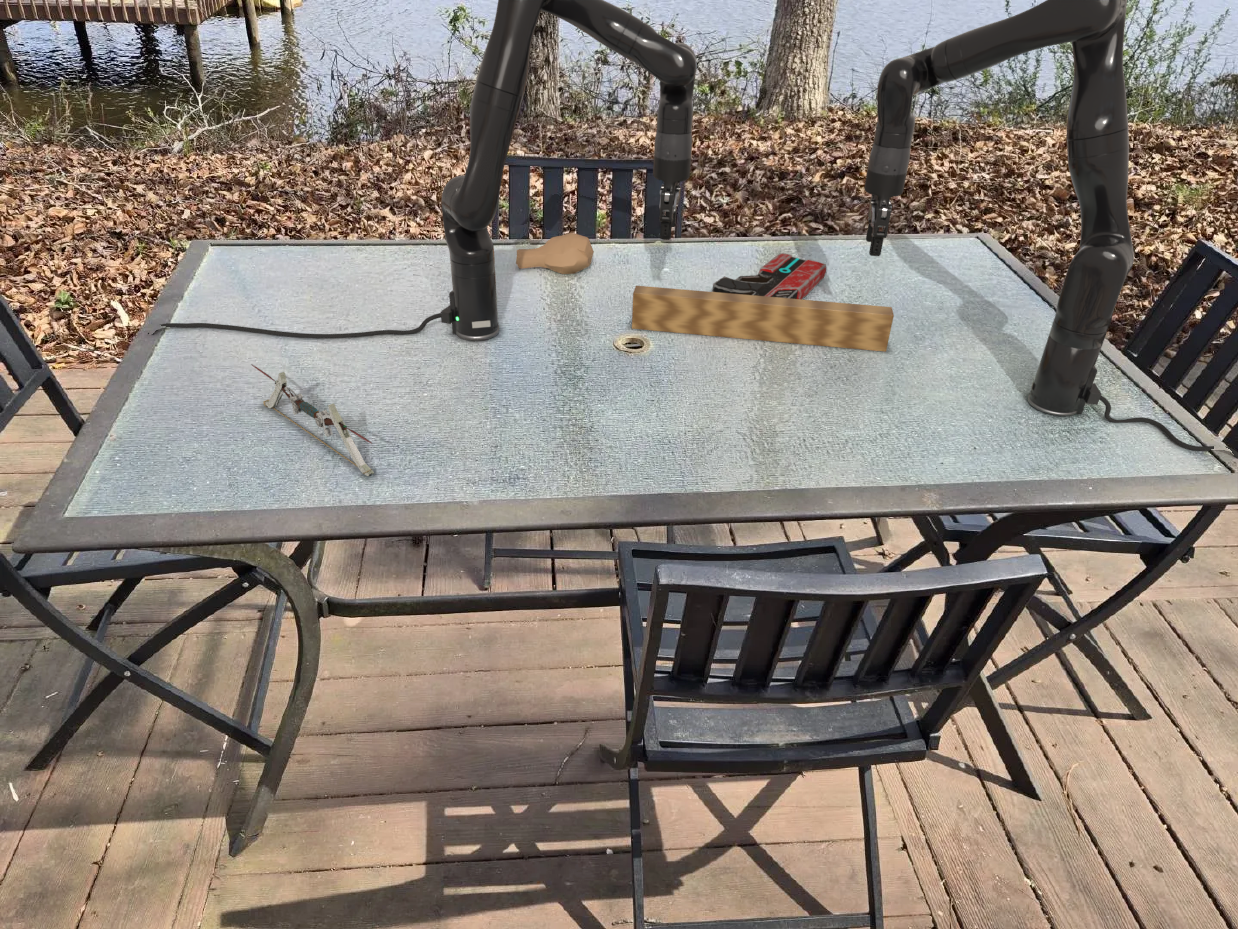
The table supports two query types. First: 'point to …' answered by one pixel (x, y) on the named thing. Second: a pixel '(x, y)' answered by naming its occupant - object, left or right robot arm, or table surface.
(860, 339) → the post
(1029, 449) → the table surface
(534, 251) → the squash
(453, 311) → the left robot arm
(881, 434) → the table surface
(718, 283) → the gun
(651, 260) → the table surface
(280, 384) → the bow
